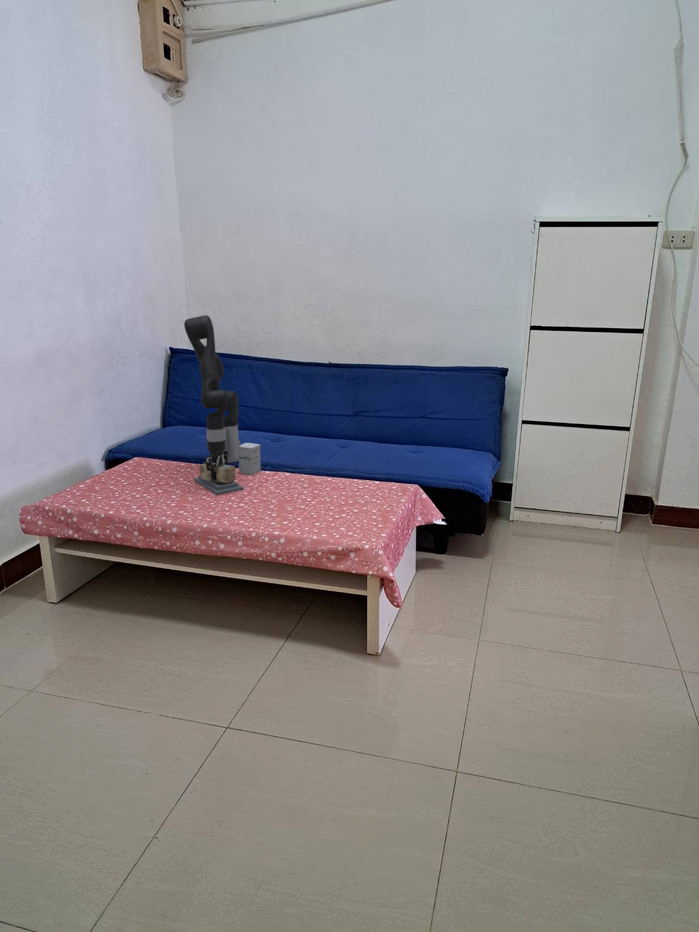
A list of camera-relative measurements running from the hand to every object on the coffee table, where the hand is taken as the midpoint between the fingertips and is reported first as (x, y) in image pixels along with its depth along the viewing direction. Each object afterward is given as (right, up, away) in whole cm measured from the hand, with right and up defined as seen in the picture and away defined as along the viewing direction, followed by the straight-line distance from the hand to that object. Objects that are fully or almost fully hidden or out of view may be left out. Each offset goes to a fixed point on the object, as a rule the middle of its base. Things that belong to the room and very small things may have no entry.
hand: (217, 477), depth 275 cm
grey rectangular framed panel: (0, -3, +1) cm, 3 cm away
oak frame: (0, -1, 0) cm, 1 cm away
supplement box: (+11, +2, +20) cm, 22 cm away
